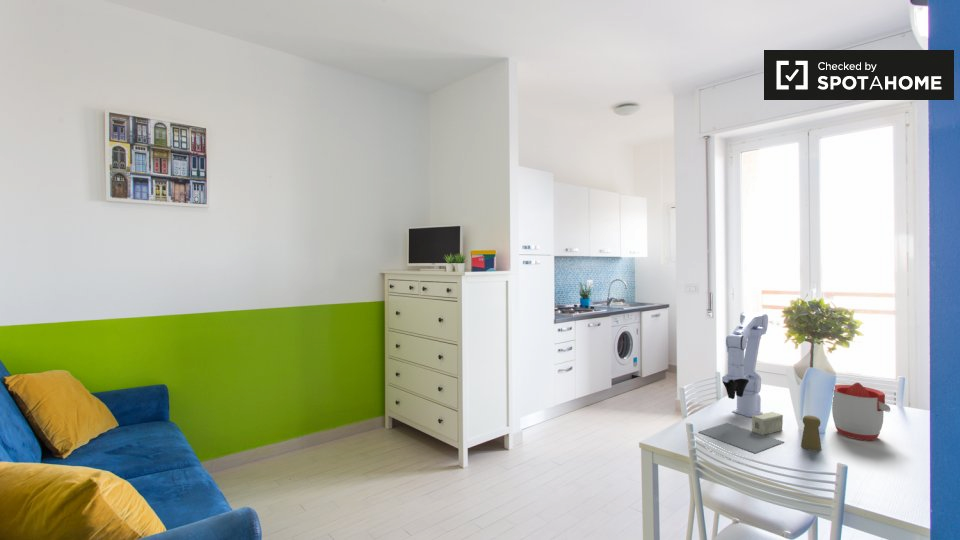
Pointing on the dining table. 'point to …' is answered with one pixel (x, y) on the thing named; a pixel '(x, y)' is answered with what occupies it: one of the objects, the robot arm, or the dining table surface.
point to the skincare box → (767, 423)
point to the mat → (741, 437)
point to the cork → (811, 433)
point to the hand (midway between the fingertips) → (735, 397)
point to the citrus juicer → (858, 411)
